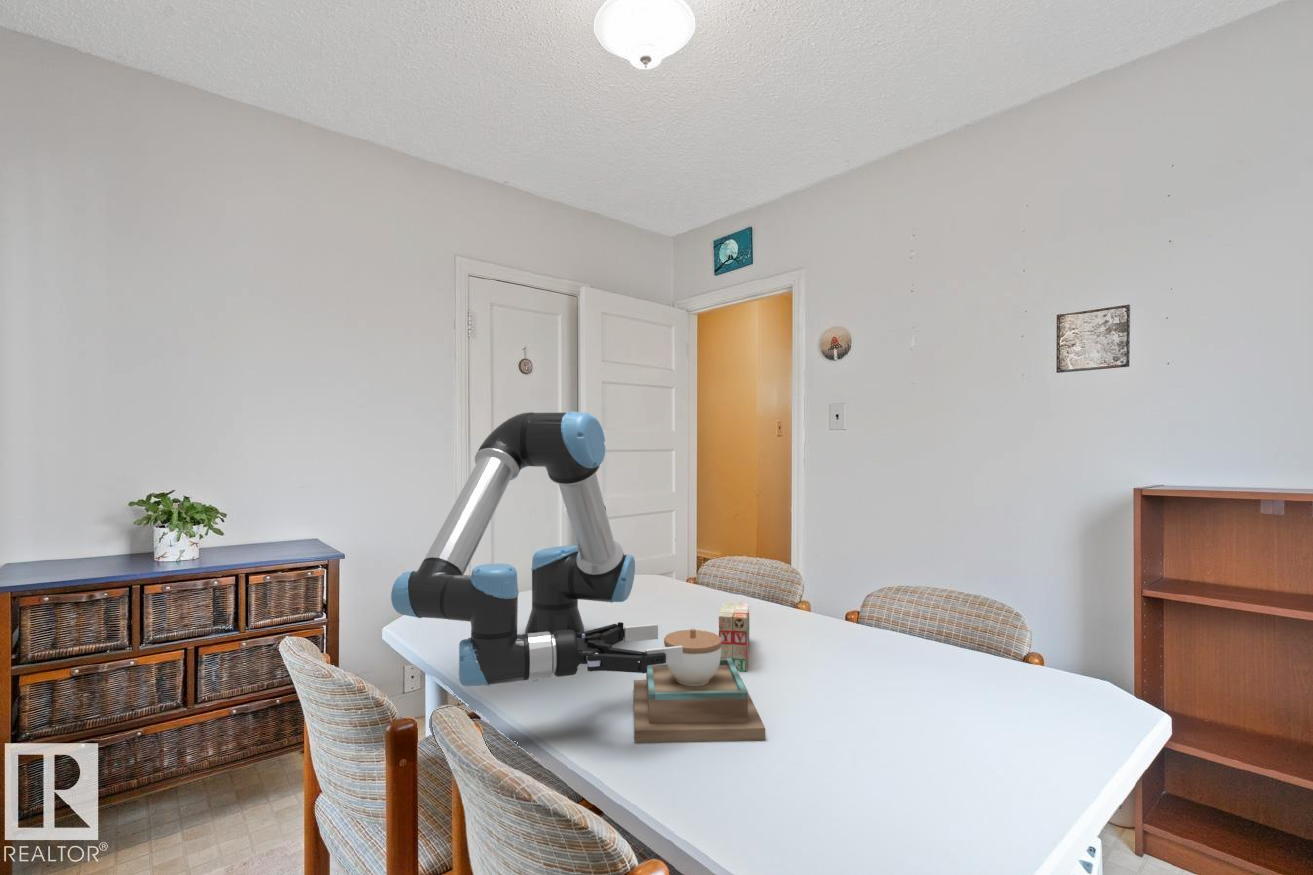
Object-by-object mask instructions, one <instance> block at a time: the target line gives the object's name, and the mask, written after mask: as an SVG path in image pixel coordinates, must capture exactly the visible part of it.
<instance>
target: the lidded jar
mask: <svg viewBox="0 0 1313 875" xmlns="http://www.w3.org/2000/svg"><path fill="white" fill-rule="evenodd" d="M663 643H664V647H673V646H682V647H683V663H676V664H668V665H667V667H668V669H669V671H670V673H671V674H672V675H673V677H675V678H676V680H677V682H678V683H680V684H682V685H685V686H702V685H705V684H707V683H708V682H709V680H710V679H711V678H712V677H713V676H714V675H715V674H716V672H717V670H718V667H719V664H720V659H721V646H722V639H721V637H720V636H719V634H716V633H714V632H711V631H707V630H701V629H700V630H699V629H698V630H697V629H695V628H689V629H684V630H677V631H676V630H675V631H674V632H669V633H668V634H666V635H665V636H664V638H663Z"/></svg>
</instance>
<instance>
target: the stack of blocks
mask: <svg viewBox="0 0 1313 875" xmlns="http://www.w3.org/2000/svg"><path fill="white" fill-rule="evenodd" d="M718 636H720V637H721V639H722V646H721V659H722V658H731V659H732V661H733V663H734V665H735V667H736V669H737V671H739V672H740V673H747V671H748V665H749V650H750V606H749V603H748V602H734V601H723V602H722V604H721V608H720V611H719V614H718ZM739 672H738V673H739Z"/></svg>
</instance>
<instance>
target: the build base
mask: <svg viewBox="0 0 1313 875" xmlns="http://www.w3.org/2000/svg"><path fill="white" fill-rule="evenodd" d="M645 674H646V676H645V677H646V679H634V680H633V716H634V717H633V719H634V720H633V722H634V723H633V724H634V725H633V726H634V727H633V728H634V729H633V730H634V743H635V744H636V743H639V744H641V743H643V744H644V743H676V742H678V743H684V742H685V743H690V742H692V743H693V742H696V743H697V742H736V741H737V742H740V741H743V742H744V741H766V727H765V725H764V722H763V721H762V718H761V717H760V715H759V711H758V710H757V708H756V705H755V704H754V702H753V699H752V697H751V695H750V694H749V691H748V690H747V687H746V685H745V683H744V681H743V678H742V677H741V675H740V673H739V672H738V671H737V669H736V667H735V665H734V663H733V661H732V659H731V658H722V659H720V664H719V667H718V670H717V672H716V674H715V675H714V676H713V677H712V678H711V679H710V680H709V682H708V683H707V684H705V685H702V686H685V685H682V684H680V683H678V682H677V680H676V678H675V677H673V675H672V674H671V673H670V671H669V669H668V667H667V665H659V666H650V667H647V673H645Z"/></svg>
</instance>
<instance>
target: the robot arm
mask: <svg viewBox="0 0 1313 875" xmlns="http://www.w3.org/2000/svg"><path fill="white" fill-rule="evenodd" d="M605 441H606V437H605V433H604V430H603V427H602V425H601V423H600V421H599V420H598V418H597V417H595V416H594V414H591V413H589V412H580V411H575V410H574V411H573V410H571V411H570V410H569V411H567V412H533V411H532V412H522V413H519V414H516V415H513V416H512V417H510V418H508V419H506V420H505V421H503V422H502V423H500V425H498V426H497V427H496V428H495V429H493V431H491V433H490V434H489V435H488V436H487V437H486V438H485V439H484V440H483V441H482V443H481V444H480V446H479V448H478V450H477V452H476V453H475V456H474V463H475V466H474V468H473V469H472V471H471V473H470V474H469V475H470V476H469V477H468V479H467V481H466V482H465V484H464V486H463V487H462V490H461V491H460V493H459V494H458V497H457V499H456V500H455V502H454V504H453V506H452V507H451V509H450V511H449V513H448V516H446V519H445V521H444V523H443V524H442V526H441V528H440V530H439V532H438V533H437V535H436V536H435V539H434V541H433V542H432V545H431V546H430V548H429V549H428V552H427V554H426V555H425V557H424V559H423V560H422V562H421V564H420V566H419V567H418V570H412V571H405V572H403V573H401V575H400V576H398V577H397V578H396V579H395V581H394V583H393V585H392V587H391V593H390V600H391V605H392V607H393V609H394V610H395V611H396V613H397V614H400V615H401V616H402V615H403V616H406V617H407V616H408V617H414V618H417V619H423V618H426V619H427V618H428V619H440V620H441V619H442V620H449V621H450V620H451V621H460V622H469V623H470V626H471V627H470V628H471V629H470V631H471V632H470V637H468V638H465V639H461V640H460V641H459V644H458V649H459V650H458V680H459V683H460V684H461V686H464V687H477V686H478V687H479V686H480V687H481V686H486V687H488V686H489V687H490V686H491V685H498V684H500V685H501V684H506V683H513V682H520V681H530V680H532V681H533V682H535V683H537V682H538V681H539V680H540V679H549V678H551V677H552V675H554V676H555V677H557V678H559V677H561V678H562V677H568V676H575V675H576V674H577V672H578V669H579V668H578V667H579V666H580V665H586V666H587V668H586V670H587V672H600V671H601V672H602V671H603V672H604V671H605V672H618V673H619V672H621V673H632V674H633V673H635V674H636V673H637V674H646V673H647V667H650V666H659V665H668V664H676V663H683V647H682V646H673V647H665V646H664V647H655V648H649V649H648V648H646V649H644V650H645V651H641V650H640V651H639V650H633V649H626V648H618V647H613V646H614V645H616V644H618V643H620V642H622V641H624V642H625V643H631V642H640V641H651V640H659V624H657V623H652V624H642V625H632V626H624V622H621V621H620V622H617V623H613V624H609V625H608V624H607V625H605V626H601V627H598V628H594V629H591V630H590V629H589V630H585V625H584V623H583V619H582V616H581V614H580V611H579V607H578V606H579V605H578V603H579V600H582V601H583V600H584V601H592V602H593V601H594V602H601V603H602V602H604V603H623V602H625V601H627V600H628V598H629V597H630V594H631V592H632V589H633V587H634V586H633V585H634V580H635V572H636V562H635V557H634V556H633V555H631V554H629V553H628V554H624V551H623V548H622V545H621V544H620V543H619V542H618V541H615V540H614V537H613V533H612V529H611V526H610V521H609V517H608V514H607V510H606V506H605V503H604V498H603V496H602V495H603V494H602V491H601V487H600V483H599V480H598V477H597V473H598V471H599V470H600V467H601V464H602V463H603V462H604V459H605V456H606V455H605V454H606V445H605ZM528 467H536V468H537V467H544V468H545V469H546V472H547V475H548V478H549V479H550V480H551V482H553V483H555V484H558V487H559V489H560V493H561V496H562V499H563V503H564V507H565V510H566V512H567V516H568V519H569V522H570V525H571V527H572V531H573V535H574V538H575V541H576V544H577V545H572V544H571V545H561V546H554V547H553V546H552V547H548V548H544V549H541V550H538V551H536V552H535V553H534V554H533V555H532V563H531V569H530V570H531V610H530V614H529V617H528V620H527V623H526V626H525V630H524V633H522V634H518V614H519V613H518V612H519V610H518V608H519V607H518V606H519V605H518V602H519V597H518V596H519V593H520V592H519V588H518V585H519V584H518V572H517V569H516V568H515V567H514V566H513V565H511V564H507V563H485V564H480V565H477V566H475V567H474V568H473V569H472V571H471V575H468V574H467V575H466V574H465V573H466V571H467V569H468V567H469V565H470V563H471V561H472V558H473V557H474V554H475V552H476V551H477V548H478V547H479V544H480V542H481V540H482V538H483V536H484V534H485V531H486V529H487V528H488V526H489V524H490V522H491V520H492V518H493V515H494V514H495V511H496V510H497V508H498V506H499V504H500V502H501V499H502V498H503V495H504V493H505V492H506V490H507V487H508V485H509V484H510V481H513V480H515V479H516V478H517V477H518V475H519V474H520V471H521V470H523V469H525V468H528Z"/></svg>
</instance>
